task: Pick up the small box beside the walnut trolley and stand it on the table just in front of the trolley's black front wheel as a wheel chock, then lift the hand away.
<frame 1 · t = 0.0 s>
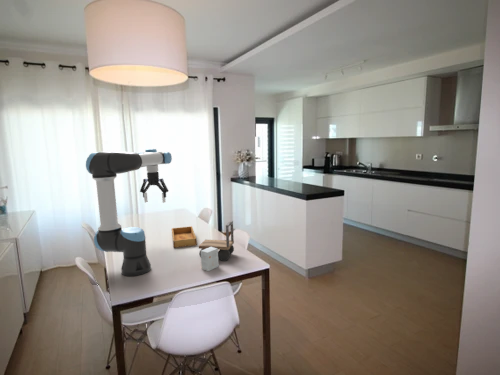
hand: (155, 202, 215), 28 cm above the table, tool pointing down, fingers open, 13 cm apart
tray: (183, 240, 220), on the table
trolley: (217, 256, 185), on the table
small box: (210, 268, 169), on the table
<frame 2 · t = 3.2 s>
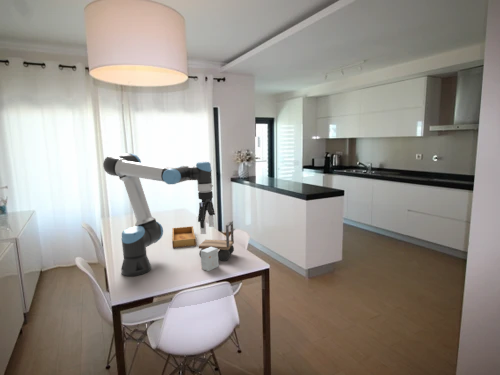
hand: (207, 230, 167), 21 cm above the table, tool pointing down, fingers open, 13 cm apart
nothing on the table moved.
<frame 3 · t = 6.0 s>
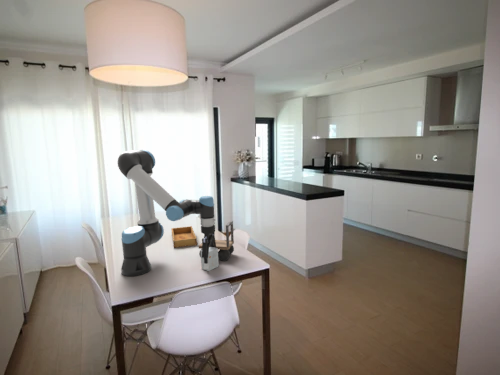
hand: (210, 264, 169), 2 cm above the table, tool pointing down, fingers closed on small box, 9 cm apart
small box: (210, 268, 169), on the table, touching gripper
everything else where it was.
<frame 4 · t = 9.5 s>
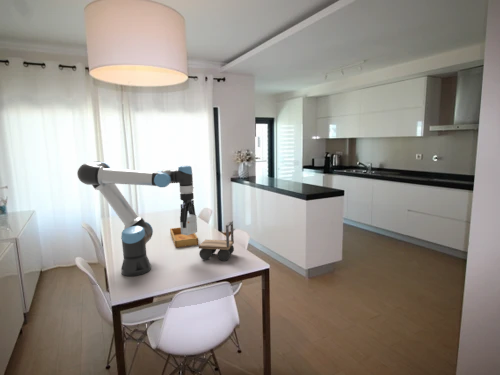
hand: (189, 230, 181), 17 cm above the table, tool pointing down, fingers closed on small box, 9 cm apart
small box: (189, 233, 181), point 15 cm above the table, touching gripper
when the fingers open (3 cm above the table, at t = 12.9 s): small box drops 1 cm, on the table.
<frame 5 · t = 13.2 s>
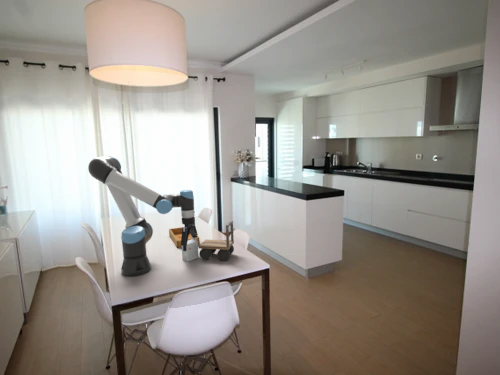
hand: (190, 252, 183), 4 cm above the table, tool pointing down, fingers open, 12 cm apart
small box: (190, 259, 184), on the table
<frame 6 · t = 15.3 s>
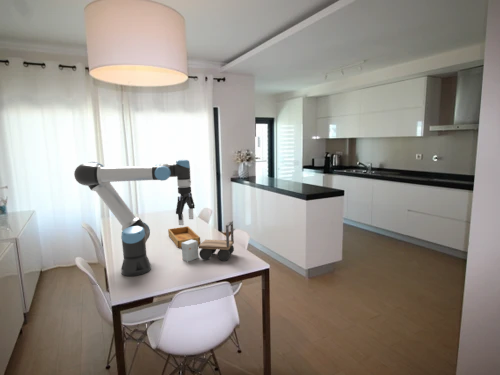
hand: (186, 222, 183), 22 cm above the table, tool pointing down, fingers open, 13 cm apart
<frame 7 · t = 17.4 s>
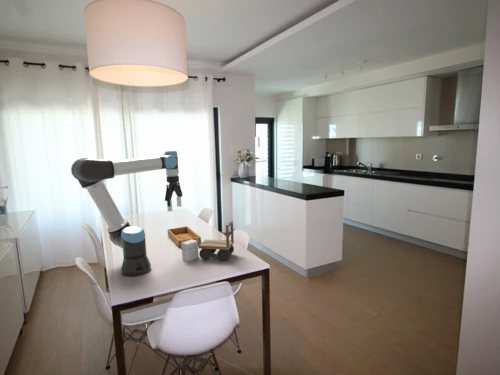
hand: (174, 208, 197), 27 cm above the table, tool pointing down, fingers open, 13 cm apart
at the end: small box inside the target area (0.3 cm from its centre), on the table; small box tilted 0°; the gripper is holding nothing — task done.
